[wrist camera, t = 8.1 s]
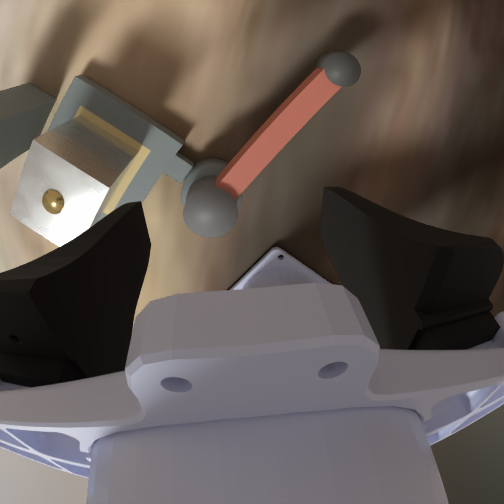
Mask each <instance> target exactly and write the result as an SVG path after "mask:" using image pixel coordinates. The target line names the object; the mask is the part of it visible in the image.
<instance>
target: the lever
mask: <svg viewBox="0 0 504 504" xmlns="http://www.w3.org/2000/svg"><path fill="white" fill-rule="evenodd" d="M360 74H361V68H360V64H359V62H358V60H357V59H356V58H355V57H354V56H353V55H351V54H349V53H346V52H329V53H324V54H322V55H321V56H320V57H319V58H318V59H317V61H316V64H315V70H314V71H313V72H312V73H311V74H310V75H309V76H308V77H307V78H306V79H305V80H304V81H303V82H302V83H301V84H300V85H299V86H298V87H297V88H296V89H295V90H294V91H293V93H292V94H291V95H290V96H289V97H288V98H287V99H286V100H285V101H284V102H283V103H282V104H281V105H280V106H279V107H278V108H277V109H276V111H275V112H274V113H273V114H272V115H271V116H270V117H269V118H268V119H267V120H266V121H265V123H264V124H263V125H262V126H261V127H260V128H259V129H258V130H257V131H256V133H255V134H254V135H253V136H252V137H251V138H250V139H249V140H248V142H247V143H246V144H245V145H244V146H243V147H242V148H241V150H240V151H239V152H238V153H237V154H236V155H235V157H234V158H233V159H232V160H231V161H230V162H229V164H228V165H227V166H226V167H225V168H224V169H223V171H222V172H221V173H220V174H219V175H218V176H215V175H209V176H204V177H201V178H199V179H197V180H196V181H195V182H193V184H192V185H191V186H190V188H189V190H188V193H187V197H186V201H185V206H184V211H183V216H184V220H185V223H186V225H187V226H188V228H189V229H190V230H191V231H192V232H194V233H195V234H197V235H200V236H203V237H208V238H213V237H219V236H222V235H224V234H226V233H228V232H229V231H230V230H231V229H232V228H233V227H234V225H235V224H236V221H237V218H238V208H237V198H238V196H239V195H240V194H241V193H242V192H243V191H244V190H245V189H246V187H247V186H248V185H249V184H250V183H251V182H252V181H253V180H254V179H255V177H256V176H257V175H258V174H259V173H260V172H261V171H262V170H263V169H264V168H265V166H266V165H267V164H268V163H269V162H270V161H271V160H272V159H273V158H274V157H275V156H276V154H277V153H278V152H279V151H280V150H281V149H282V148H283V147H284V146H285V145H286V144H287V143H288V142H289V140H290V139H291V138H292V137H293V136H294V135H295V134H296V133H297V132H298V131H299V130H300V129H301V128H302V127H303V126H304V125H305V124H306V123H307V121H308V120H309V119H310V118H311V117H312V116H313V115H314V114H315V113H316V112H317V111H318V110H319V109H320V108H321V107H322V106H323V105H324V104H325V103H326V102H327V101H328V100H329V99H330V98H331V97H332V96H333V95H334V94H335V93H336V92H337V91H338V90H339V89H340V88H341V87H347V86H351V85H353V84H355V83H356V82H357V81H358V79H359V77H360Z"/></svg>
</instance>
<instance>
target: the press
mask: <svg viewBox="0 0 504 504" xmlns="http://www.w3.org/2000/svg"><path fill="white" fill-rule="evenodd" d="M55 101H56V99H55V98H53V97H52V96H50V95H49V94H47V93H45V92H44V91H42V90H41V89H39V88H37V87H36V86H34V85H32V84H31V83H28V84H24V85H20V86H16V87H13V88H9V89H6V90H2V91H0V168H2V167H3V166H5V165H6V164H8V163H9V162H10V161H12V160H13V159H15V158H16V157H18V156H19V155H21V154H22V153H24V152H25V151H27V150H29V149H30V146H31V144H32V141H33V139H35V138H37V137H39V136H40V134H41V131H42V129H43V127H44V125H45V122H46V120H47V118H48V116H49V113H50V111H51V109H52V107H53V105H54V103H55ZM79 115H81V116H83V117H85V118H86V119H88V120H89V121H91V122H93V123H94V124H96V125H98V126H99V127H101V128H102V129H104V130H106V131H107V132H109V133H110V134H112V135H114V136H115V137H117V138H118V139H120V140H121V141H123V142H125V143H126V144H128V145H129V146H131V147H133V148H134V149H136V150H137V151H139V152H138V154H137V155H136V157H135V159H134V160H133V162H132V163H131V165H130V167H129V168H128V170H127V172H126V173H125V175H124V177H123V178H122V180H121V182H120V184H119V185H118V187H117V189H116V191H115V192H114V194H113V196H112V198H111V200H110V201H109V203H108V205H107V207H106V209H105V210H104V212H103V213H102V215H101V216H100V218H99V219H98V221H100V220H101V219H102V218H104V217H105V216H107V215H108V214H109V213H111V212H112V211H114V210H115V209H117V208H118V207H120V206H121V205H123V204H125V203H129V202H137V201H141V203H142V202H143V201H144V199H145V198H146V196H147V195H148V193H149V192H150V190H151V189H152V187H153V186H154V184H155V183H156V181H157V180H158V178H159V177H160V176H161V174H162V173H163V172H164V173H165V174H167V175H168V176H170V177H171V178H173V179H174V180H176V181H177V182H179V183H180V184H181V182H182V181H183V180H184V178H185V180H184V184H183V188H182V192H181V199H182V203H183V206H185V201H186V197H187V193H188V190H189V188H190V186H191V185H192V184H193V182H195V181H196V180H197V179H199V178H201V177H204V176H209V175H215V176H218V175H219V174H220V173H221V172H222V171H223V169H224V168H225V167H226V166H227V165H228V164H229V163H228V162H226V161H224V160H221V159H217V158H208V159H204V160H201V161H199V162H197V163H196V164H194V163H193V162H192V161H190V160H189V159H187V158H186V157H184V156H183V155H181V154H180V153H178V151H179V149H180V148H181V147H182V145H183V143H184V141H185V140H183V139H182V138H180V137H179V136H177V135H176V134H174V133H173V132H171V131H170V130H168V129H167V128H165V127H164V126H162V125H161V124H159V123H158V122H156V121H155V120H153V119H152V118H150V117H149V116H147V115H146V114H144V113H143V112H141V111H140V110H138V109H137V108H135V107H133V106H132V105H130V104H129V103H127V102H126V101H124V100H123V99H121V98H119V97H118V96H116V95H115V94H113V93H111V92H110V91H108V90H107V89H105V88H103V87H102V86H100V85H98V84H97V83H95V82H94V81H92V80H90V79H89V78H87V77H85V76H84V75H79V76H75V77H74V79H73V81H72V83H71V85H70V86H69V88H68V90H67V92H66V94H65V96H64V98H63V100H62V102H61V104H60V106H59V108H58V110H57V112H56V114H55V116H54V118H53V120H52V122H51V125H50V127H49V129H48V131H49V130H51V129H53V128H55V127H57V126H59V125H61V124H63V123H65V122H67V121H69V120H71V119H73V118H75V117H77V116H79ZM48 131H47V132H48ZM241 201H242V193H241V194H240V195H239V196H238V198H237V208H239V207H240V204H241ZM98 221H97V222H98ZM97 222H96V223H97Z"/></svg>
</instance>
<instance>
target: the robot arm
mask: <svg viewBox="0 0 504 504" xmlns="http://www.w3.org/2000/svg"><path fill="white" fill-rule="evenodd" d="M320 233H321V236H322V240H323V243H324V246H325V249H326V251H327V253H328V256H329V258H330V260H331V262H332V264H333V266H334V268H335V270H336V272H337V274H338V276H339V278H340V280H341V282H342V284H343V286H344V287H343V286H342V285H332V284H331V283H329V282H328V281H327V280H325V279H324V278H322V277H321V276H320V275H318V274H317V273H315V272H314V271H312V270H311V269H310V268H308V267H307V266H305V265H304V264H302V263H301V262H299V261H298V260H297V259H295V258H294V257H292V256H291V255H289V254H288V253H286V252H285V251H284V250H282V249H281V248H279V247H274V248H272V249H271V250H270V251H269V252H268V253H267V254H266V255H265V256H264V257H263V258H262V259H261V260H259V261H258V262H257V263H256V264H255V265H254V266H253V267H252V268H251V269H250V270H249V271H248V272H247V273H246V274H245V275H244V276H243V277H242V278H241V279H240V280H239V281H238V282H237V283H236V284H235V285H234V286H233V287H232V288H231V289H230V290H226V291H212V292H198V293H183V294H175V295H172V296H168V297H165V298H161V299H157V300H154V301H150V302H149V303H148V304H147V306H146V307H145V308H144V309H143V310H142V311H141V312H140V313H139V314H138V316H137V317H136V319H135V324H134V328H133V320H134V314H135V310H136V306H137V302H138V298H139V295H140V291H141V288H142V284H143V281H144V278H145V274H146V271H147V267H148V263H149V257H150V249H151V242H150V238H149V234H148V230H147V225H146V221H145V217H144V212H143V208H142V203H141V201H137V202H129V203H125V204H123V205H121V206H120V207H118V208H117V209H115V210H114V211H112V212H111V213H109V214H108V215H107V216H105V217H104V218H102V219H101V220H100V221H98V222H97V223H96V224H94V225H93V226H91V227H90V228H88V229H87V230H85V231H84V232H83V233H81V234H80V235H78V236H77V237H75V238H74V239H72V240H70V241H69V242H67V243H65V244H64V245H62V246H60V247H59V248H57V249H55V250H53V251H51V252H49V253H47V254H45V255H43V256H41V257H39V258H37V259H35V260H33V261H31V262H28V263H26V264H24V265H21V266H19V267H16V268H14V269H11V270H8V271H5V272H2V273H0V447H1V448H3V449H6V450H8V451H11V452H13V453H15V454H18V455H20V456H23V457H26V458H28V459H31V460H33V461H36V462H39V463H41V464H44V465H47V466H50V467H53V468H56V469H59V470H62V471H65V472H68V473H71V474H75V475H78V476H81V477H85V478H89V481H88V492H87V504H449V503H448V500H447V496H446V493H445V490H444V486H443V483H442V480H441V477H440V474H439V471H438V468H437V465H436V462H435V459H434V456H433V453H432V450H431V447H430V445H432V444H434V443H436V442H438V441H440V440H442V439H444V438H446V437H448V436H450V435H452V434H453V433H455V432H457V431H459V430H461V429H462V428H464V427H466V426H468V425H469V424H471V423H473V422H475V421H476V420H478V419H480V418H481V417H483V416H484V415H486V414H488V413H490V412H491V411H493V410H494V409H496V408H497V407H499V406H501V405H502V404H504V311H503V312H501V313H499V314H498V315H497V316H495V318H494V317H493V315H492V314H491V313H490V310H492V308H493V304H492V303H491V302H490V300H489V299H488V298H489V296H490V294H491V293H492V291H493V289H494V287H495V285H496V283H497V281H498V279H499V277H500V274H501V271H502V268H503V263H504V253H503V251H502V249H501V247H500V246H499V245H498V244H497V243H496V242H495V241H494V240H493V239H491V238H487V237H481V236H474V235H467V234H462V233H457V232H452V231H448V230H444V229H440V228H436V227H433V226H430V225H426V224H423V223H420V222H417V221H414V220H412V219H409V218H407V217H404V216H401V215H399V214H397V213H394V212H392V211H390V210H388V209H386V208H383V207H381V206H379V205H377V204H375V203H373V202H371V201H369V200H367V199H365V198H363V197H361V196H359V195H357V194H355V193H353V192H351V191H348V190H346V189H343V188H340V187H324V194H323V206H322V217H321V227H320ZM279 255H283V256H282V257H278V256H279ZM132 328H133V332H132Z"/></svg>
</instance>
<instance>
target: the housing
mask: <svg viewBox="0 0 504 504" xmlns="http://www.w3.org/2000/svg"><path fill="white" fill-rule="evenodd" d="M138 152H139V151H137V150H136V149H134V148H133V147H131V146H129V145H128V144H126V143H125V142H123V141H121V140H120V139H118V138H117V137H115V136H114V135H112V134H110V133H109V132H107V131H106V130H104V129H102V128H101V127H99V126H98V125H96V124H94V123H93V122H91V121H89V120H88V119H86V118H85V117H83V116H81V115H79V116H77V117H75V118H73V119H71V120H69V121H67V122H65V123H63V124H61V125H59V126H57V127H55V128H53V129H51V130H49V131H48V132H46V133H44V134H42V135H40V136H39V137H37V138H35V139H33V141H32V144H31V146H30V149H29V152H28V155H27V158H26V161H25V164H24V167H23V170H22V173H21V176H20V179H19V183H18V186H17V190H16V193H15V197H14V201H13V205H12V209H11V213H10V215H12V216H13V217H15V218H16V219H17V220H19V221H20V222H22V223H23V224H25V225H26V226H28V227H29V228H31V229H32V230H34V231H36V232H37V233H39V234H40V235H42V236H43V237H45V238H46V239H48V240H50V241H51V242H53V243H54V244H56V245H58V246H59V247H60V246H62V245H64V244H65V243H67V242H69V241H70V240H72V239H74V238H75V237H77V236H78V235H80V234H81V233H83V232H84V231H85V230H87V229H88V228H90V227H91V226H93V225H94V224H96V222H97V221H98V219H99V218H100V216H101V215H102V213H103V212H104V210H105V209H106V207H107V205H108V203H109V201H110V200H111V198H112V196H113V194H114V192H115V191H116V189H117V187H118V185H119V184H120V182H121V180H122V178H123V177H124V175H125V173H126V172H127V170H128V168H129V167H130V165H131V163H132V162H133V160H134V159H135V157H136V155H137V154H138Z"/></svg>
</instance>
